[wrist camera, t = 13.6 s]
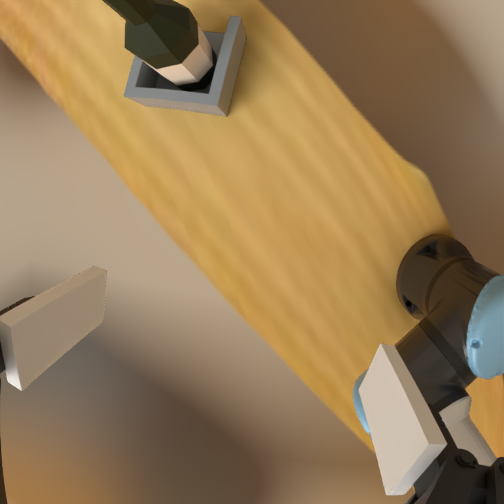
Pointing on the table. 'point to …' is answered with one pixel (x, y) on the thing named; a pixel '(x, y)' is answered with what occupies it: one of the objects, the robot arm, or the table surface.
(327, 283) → the table surface
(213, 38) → the bottle stand
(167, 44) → the wine bottle
